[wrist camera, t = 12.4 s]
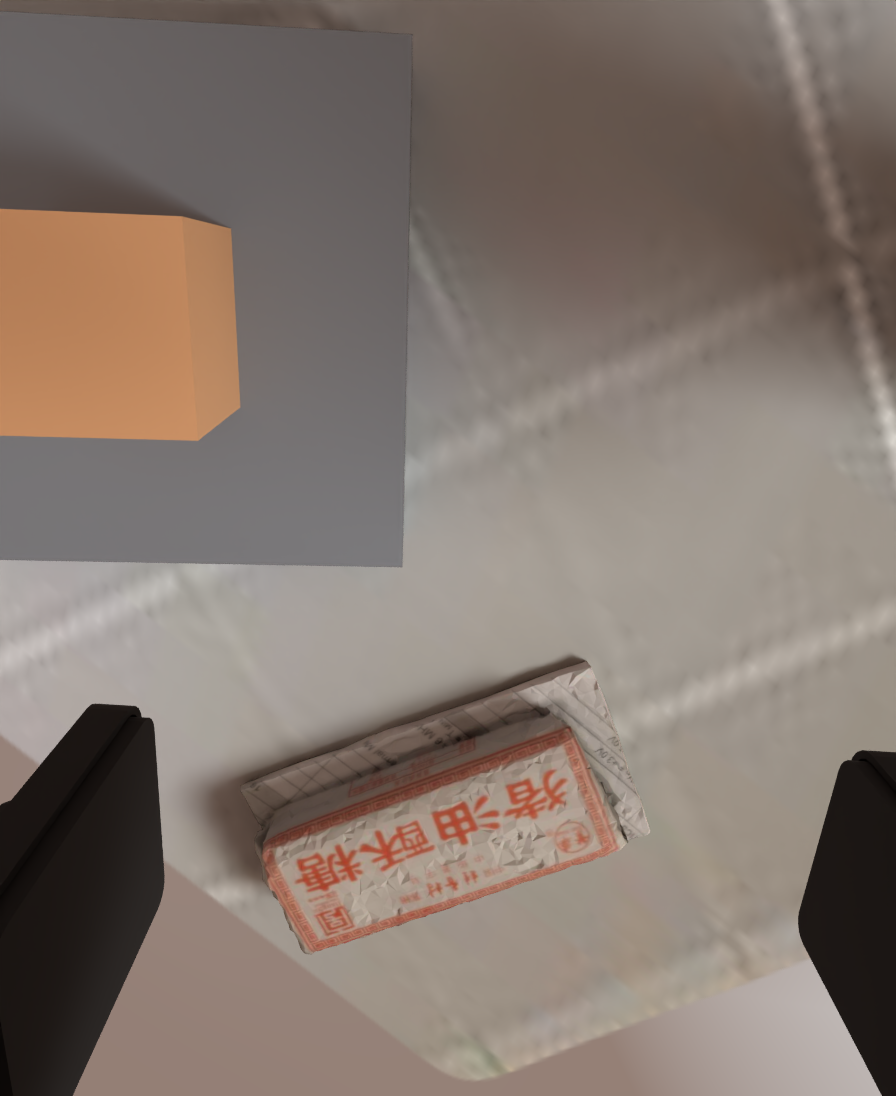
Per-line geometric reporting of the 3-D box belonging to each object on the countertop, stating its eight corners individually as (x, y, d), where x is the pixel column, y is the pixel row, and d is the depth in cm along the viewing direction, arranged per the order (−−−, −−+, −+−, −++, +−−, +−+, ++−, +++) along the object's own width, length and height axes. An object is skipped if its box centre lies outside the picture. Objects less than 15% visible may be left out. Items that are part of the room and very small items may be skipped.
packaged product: (313, 999, 37) (220, 841, 34) (324, 920, 42) (242, 774, 39) (674, 880, 36) (611, 704, 33) (644, 812, 41) (587, 651, 37)
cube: (230, 228, 26) (182, 216, 21) (240, 407, 28) (198, 440, 23) (48, 221, 26) (-53, 206, 20) (70, 402, 28) (-16, 435, 22)
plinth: (412, 65, 28) (412, 34, 25) (402, 535, 34) (402, 567, 31) (-101, 38, 27) (-182, 1, 24) (-19, 526, 33) (-74, 558, 30)
